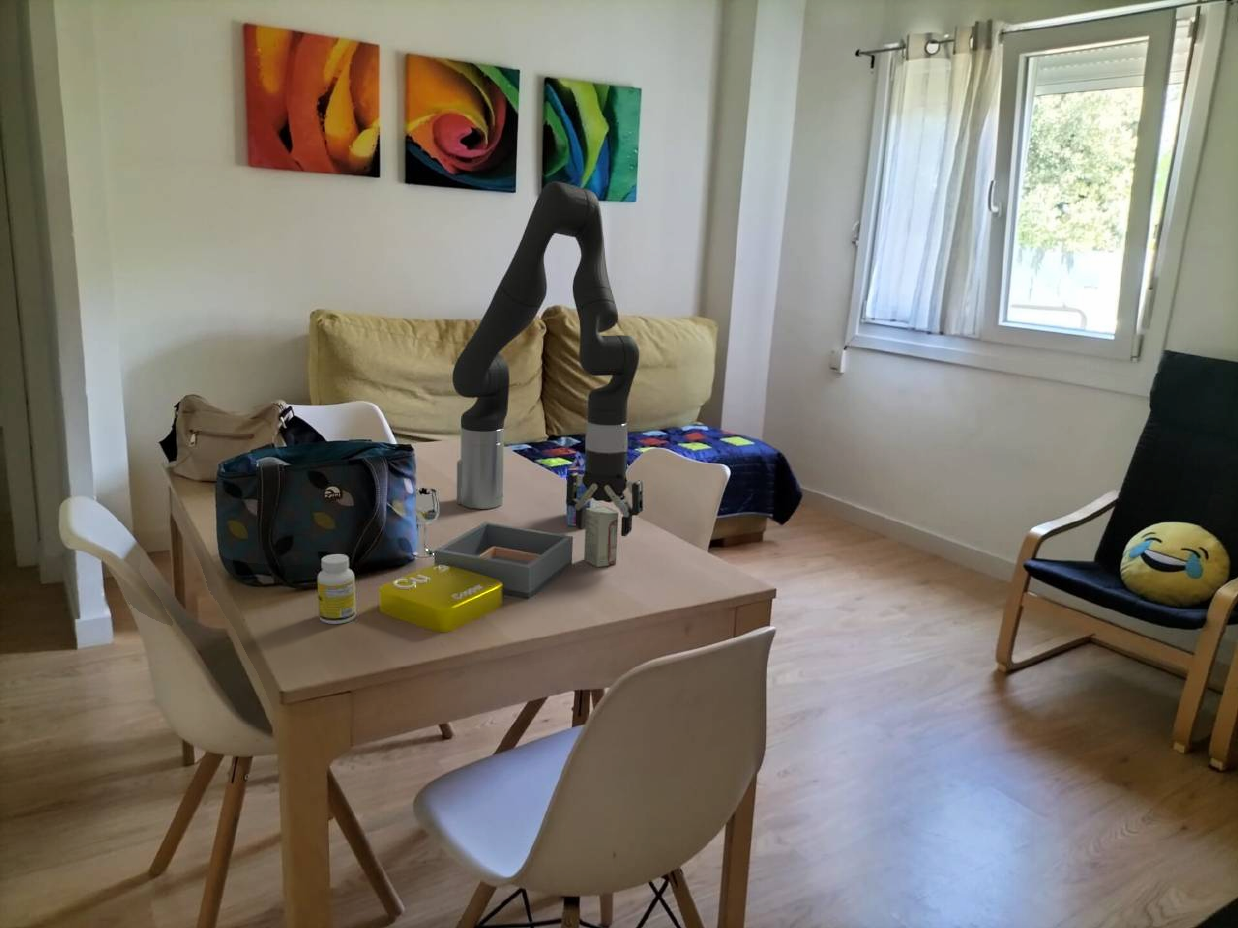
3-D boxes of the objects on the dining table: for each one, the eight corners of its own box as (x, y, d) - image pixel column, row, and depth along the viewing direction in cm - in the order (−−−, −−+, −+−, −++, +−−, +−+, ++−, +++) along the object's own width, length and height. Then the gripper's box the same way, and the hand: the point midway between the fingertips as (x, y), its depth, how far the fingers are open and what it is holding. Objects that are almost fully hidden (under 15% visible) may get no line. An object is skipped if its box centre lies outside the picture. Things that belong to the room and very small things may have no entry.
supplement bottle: (323, 610, 145) (321, 551, 143) (358, 611, 146) (357, 552, 144) (315, 624, 140) (313, 564, 138) (351, 625, 141) (350, 564, 138)
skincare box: (617, 564, 171) (619, 512, 169) (596, 568, 169) (598, 515, 167) (603, 555, 176) (605, 505, 173) (582, 559, 173) (584, 507, 171)
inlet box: (434, 580, 160) (434, 550, 158) (484, 549, 176) (485, 521, 175) (528, 598, 154) (529, 567, 152) (571, 564, 170) (572, 536, 169)
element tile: (444, 637, 139) (444, 607, 138) (373, 612, 147) (373, 584, 146) (507, 606, 152) (508, 578, 150) (439, 584, 159) (439, 558, 158)
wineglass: (445, 551, 174) (445, 490, 171) (427, 560, 169) (427, 497, 166) (420, 545, 176) (420, 485, 173) (401, 554, 171) (401, 492, 168)
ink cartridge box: (573, 511, 202) (575, 447, 198) (598, 514, 201) (600, 449, 198) (564, 525, 192) (566, 458, 189) (590, 527, 192) (593, 460, 188)
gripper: (561, 446, 166) (559, 532, 170) (636, 455, 161) (632, 543, 165) (577, 438, 173) (575, 521, 177) (650, 446, 168) (646, 531, 172)
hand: (603, 531), depth 171 cm, fingers open, 8 cm apart
